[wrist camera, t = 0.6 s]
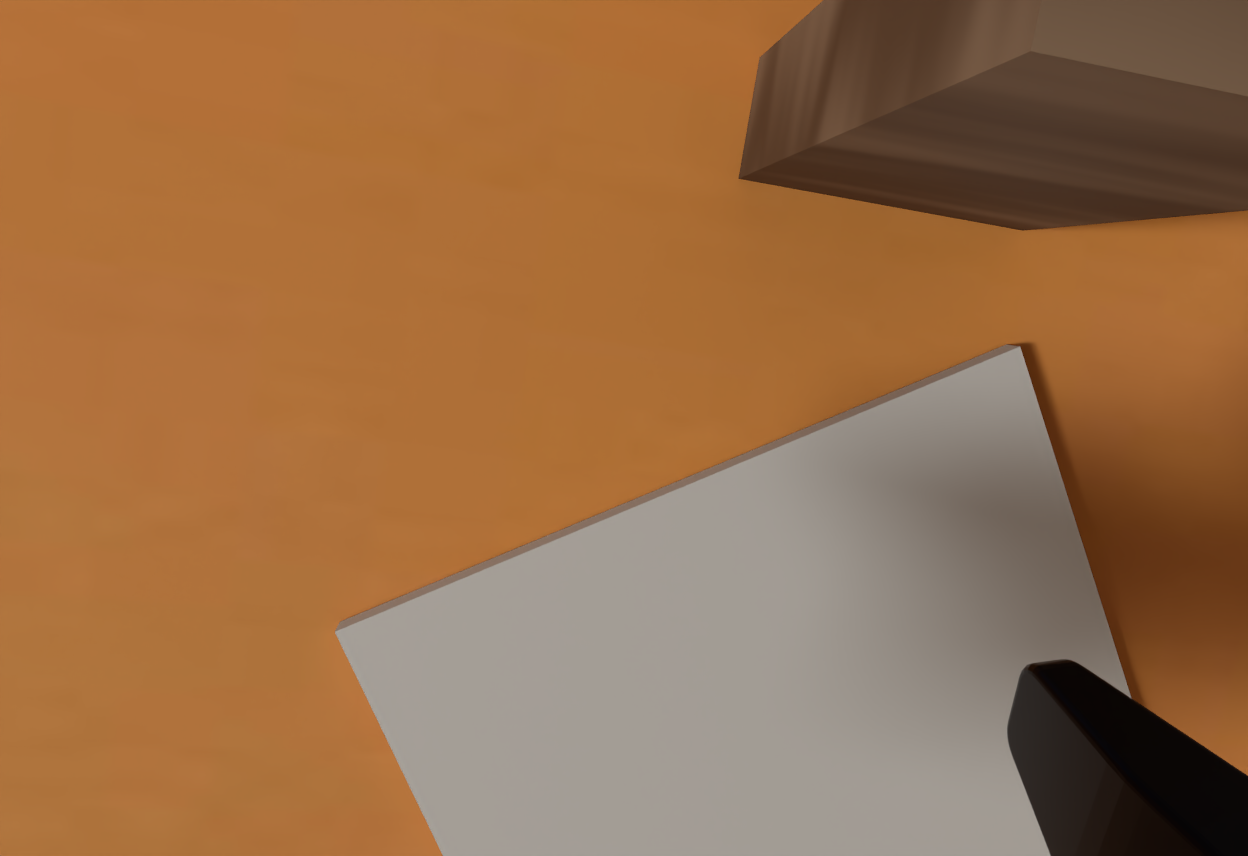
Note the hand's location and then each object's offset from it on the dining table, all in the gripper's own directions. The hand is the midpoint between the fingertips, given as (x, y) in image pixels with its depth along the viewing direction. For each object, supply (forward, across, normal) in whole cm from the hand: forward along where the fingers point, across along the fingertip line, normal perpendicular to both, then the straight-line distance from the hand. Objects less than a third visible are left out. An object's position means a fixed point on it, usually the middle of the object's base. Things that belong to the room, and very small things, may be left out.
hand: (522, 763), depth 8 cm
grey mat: (+8, -6, +14) cm, 17 cm away
